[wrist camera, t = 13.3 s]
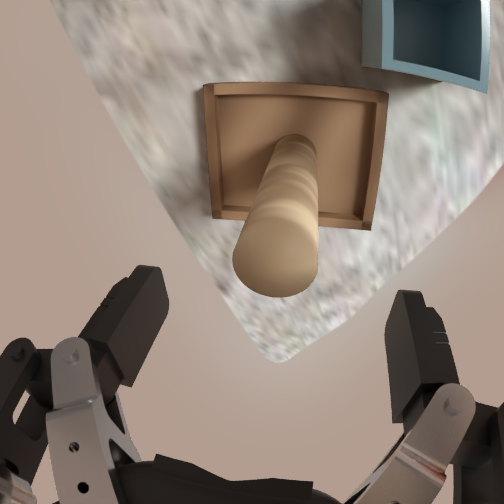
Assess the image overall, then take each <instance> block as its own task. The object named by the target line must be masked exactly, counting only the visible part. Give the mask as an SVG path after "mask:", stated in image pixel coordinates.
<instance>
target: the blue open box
mask: <svg viewBox="0 0 504 504" xmlns="http://www.w3.org/2000/svg"><path fill="white" fill-rule="evenodd" d="M489 62H490V8H489V0H362V59H361V66H363V67H370V68H377V69H383V70H389V71H395V72H401V73H406V74H411V75H416V76H421V77H425V78H430V79H434V80H438V81H442V82H446V83H450V84H454V85H458V86H462V87H466V88H469V89H473V90H476V91H480V92H483V93H486V94H487V90H488V78H489Z"/></svg>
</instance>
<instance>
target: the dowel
mask: <svg viewBox="0 0 504 504" xmlns="http://www.w3.org/2000/svg"><path fill="white" fill-rule="evenodd" d="M232 262H233V267H234V271H235V273H236V275H237V276H238V278H239V279H240V280H241V282H242V283H243V284H244V285H245V286H247V287H248V288H249V289H251V290H253V291H254V292H257V293H259V294H262V295H265V296H269V297H288V296H292V295H295V294H298V293H300V292H302V291H304V290H305V289H306V288H307V287H309V286H310V285H311V283H312V282H313V281H314V279H315V277H316V274H317V270H318V183H317V153H316V148H315V146H314V144H313V143H312V142H311V141H310V140H309V139H308V138H307V137H305V136H303V135H299V134H290V135H287V136H285V137H283V138H282V139H280V140H279V141H278V143H277V145H276V147H275V149H274V152H273V154H272V156H271V159H270V161H269V164H268V166H267V169H266V171H265V174H264V176H263V179H262V181H261V184H260V186H259V189H258V191H257V194H256V196H255V199H254V201H253V204H252V206H251V209H250V211H249V214H248V216H247V219H246V221H245V224H244V226H243V229H242V231H241V234H240V236H239V239H238V241H237V244H236V246H235V249H234V252H233V257H232Z"/></svg>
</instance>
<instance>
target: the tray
mask: <svg viewBox="0 0 504 504" xmlns="http://www.w3.org/2000/svg"><path fill="white" fill-rule="evenodd" d="M203 92H204V110H205V126H206V141H207V155H208V168H209V181H210V194H211V205H212V217H213V219H228V220H244V221H246V219H247V216H248V214H249V211H250V209H251V206H252V204H253V201H254V199H255V196H256V194H257V191H258V189H259V186H260V184H261V181H262V179H263V176H264V174H265V171H266V169H267V166H268V164H269V161H270V159H271V156H272V154H273V152H274V149H275V147H276V145H277V143H278V141H279V140H280V139H282V138H283V137H285V136H287V135H290V134H299V135H303V136H305V137H307V138H308V139H309V140H310V141H311V142H312V143H313V144H314V146H315V148H316V153H317V183H318V226H325V227H337V228H348V229H359V230H370V231H371V226H372V221H373V215H374V209H375V204H376V198H377V191H378V185H379V178H380V171H381V164H382V157H383V149H384V140H385V131H386V121H387V110H388V98H389V93H387V92H384V91H378V90H371V89H364V88H356V87H347V86H337V85H325V84H311V83H291V82H225V83H209V84H205V85H203Z"/></svg>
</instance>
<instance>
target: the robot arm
mask: <svg viewBox="0 0 504 504" xmlns="http://www.w3.org/2000/svg"><path fill="white" fill-rule="evenodd" d="M168 310H169V299H168V295H167V291H166V287H165V283H164V279H163V275H162V271H161V269H160V268H159V267H154V266H145V265H138V266H137V267H136V268H135V269H134V271H133V272H132V274H131V275H130V276H129V278H127V277H125V278H123V279H122V280H121V281H119V282H118V283H117V284H115V285H114V286H113V287H112V289H111V290H110V291H109V293H108V294H107V296H106V298H104V300H103V302H102V303H101V305H100V306H99V307H98V308H97V310H96V311H95V313H94V314H93V315H92V317H91V318H90V320H89V322H88V323H87V324H86V326H85V327H84V329H83V330H82V332H81V333H80V335H79V336H78V337H71V338H67V339H65V340H63V341H61V342H60V343H59V344H57V346H56V347H55V348H54V349H36V348H35V346H34V345H33V343H32V342H31V341H30V340H29V339H27V338H18V339H16V340H14V341H12V342H11V343H10V344H9V345H8V346H7V347H6V348H5V350H4V351H3V353H2V354H1V356H0V504H37V499H36V497H35V495H33V494H32V489H31V484H32V482H33V479H34V476H35V474H36V472H37V469H38V466H39V464H40V462H41V459H42V457H43V454H44V452H45V450H46V447H47V445H48V444H49V450H50V457H51V463H52V469H53V474H54V479H55V484H56V489H57V493H58V498H59V501H57V502H55V503H53V504H431V503H432V502H433V500H434V499H435V497H436V496H437V494H438V493H439V491H440V490H441V488H442V486H443V484H444V482H445V480H446V475H445V474H444V473H445V470H446V468H447V466H448V464H453V470H454V497H453V504H504V402H503V404H502V405H501V406H500V407H499V408H497V407H493V406H489V405H485V404H481V403H478V402H475V400H474V398H473V396H472V394H471V393H470V391H469V390H468V389H466V388H465V387H463V386H462V385H460V383H459V379H458V375H457V370H456V366H455V363H454V359H453V355H452V351H451V348H450V345H449V344H448V343H449V341H448V337H447V334H446V330H445V327H444V324H443V321H442V318H441V317H440V316H439V315H438V313H437V312H436V311H435V309H434V308H433V307H426V305H425V302H424V298H423V295H422V293H421V292H420V291H411V290H398V292H397V294H396V297H395V300H394V302H393V305H392V308H391V311H390V314H389V317H388V320H387V322H386V327H385V346H386V354H387V363H388V373H389V383H390V393H391V408H392V423H403V425H404V432H403V433H402V434H401V436H400V437H399V438H398V440H397V441H396V443H395V444H394V445H393V446H392V448H391V449H390V450H389V452H388V453H387V454H386V456H385V457H384V458H383V460H382V461H381V462H380V463H379V464H378V465H377V467H376V468H375V469H374V470H373V472H372V473H371V474H370V475H369V476H368V477H367V478H366V479H365V481H364V482H362V483H361V484H360V486H359V487H358V488H357V489H356V490H355V491H354V492H353V493H352V494H351V495H350V496H349V497H348V498H347V499H346V500H345V502H343V503H340V502H339V501H338V500H336V499H335V498H333V497H331V496H330V495H328V494H326V493H323V492H321V491H318V490H315V489H312V488H313V482H312V481H297V480H286V479H277V478H269V479H257V480H244V481H229V480H226V479H223V478H221V477H219V476H217V475H215V474H213V473H210V472H208V471H206V470H204V469H202V468H200V467H198V466H196V465H194V464H192V463H188V462H184V461H181V460H177V459H173V458H170V457H166V456H162V455H159V454H156V456H155V459H154V461H142V460H141V458H140V455H139V453H138V452H137V449H136V447H135V446H134V444H133V442H132V440H131V437H130V434H129V432H128V428H127V424H126V421H125V418H124V414H123V411H122V407H121V403H120V399H119V395H118V393H117V389H118V387H119V385H120V384H122V385H125V386H128V387H132V385H133V383H134V381H135V379H136V377H137V375H138V373H139V371H140V369H141V367H142V365H143V363H144V361H145V358H146V356H147V354H148V352H149V350H150V348H151V346H152V344H153V342H154V340H155V338H156V336H157V334H158V332H159V330H160V328H161V326H162V324H163V322H164V320H165V319H166V316H167V314H168ZM25 390H26V391H27V392H28V394H29V395H30V396H29V398H28V400H27V402H26V404H25V406H24V408H23V410H22V412H21V414H20V416H19V418H18V420H17V422H16V424H14V423H13V418H12V417H13V412H14V410H15V408H16V406H17V404H18V402H19V400H20V398H21V397H22V395H23V393H24V391H25Z"/></svg>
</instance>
